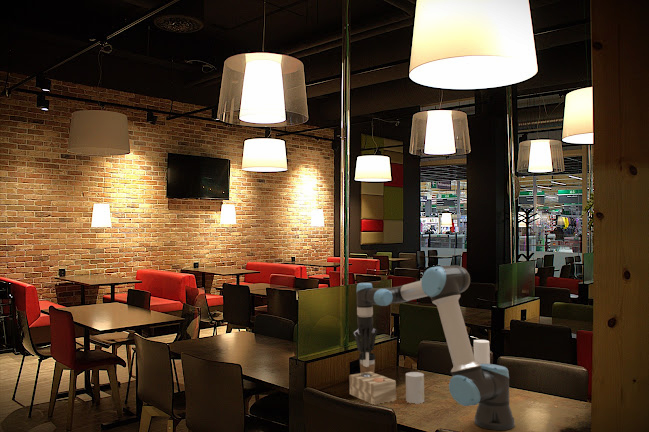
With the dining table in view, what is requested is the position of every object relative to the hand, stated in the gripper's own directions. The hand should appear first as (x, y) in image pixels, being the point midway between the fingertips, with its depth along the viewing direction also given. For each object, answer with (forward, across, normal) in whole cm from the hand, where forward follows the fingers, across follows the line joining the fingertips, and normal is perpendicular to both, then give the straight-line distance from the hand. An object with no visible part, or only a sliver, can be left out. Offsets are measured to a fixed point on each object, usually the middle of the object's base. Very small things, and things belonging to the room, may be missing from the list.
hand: (366, 366), depth 260 cm
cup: (+14, -13, +20) cm, 27 cm away
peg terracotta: (+13, 0, +10) cm, 16 cm away
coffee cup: (+13, -12, -16) cm, 24 cm away
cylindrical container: (+14, -45, +30) cm, 56 cm away
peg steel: (+13, 0, 0) cm, 13 cm away
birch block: (+13, 0, +4) cm, 14 cm away
